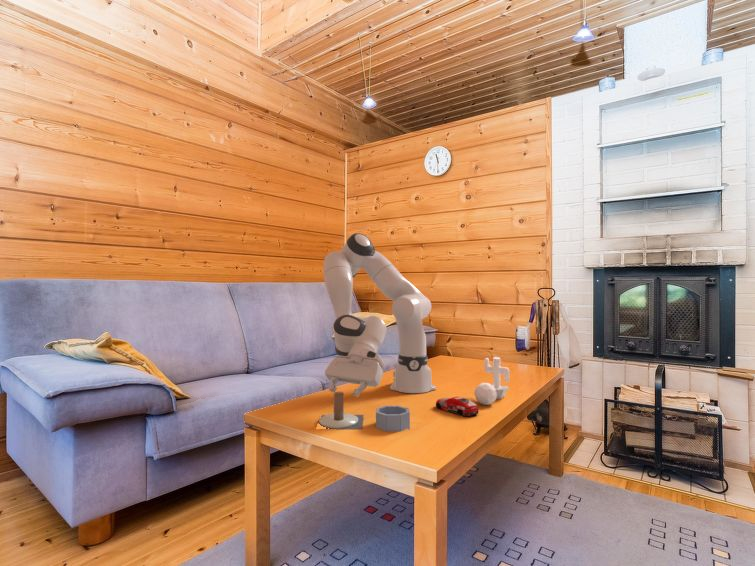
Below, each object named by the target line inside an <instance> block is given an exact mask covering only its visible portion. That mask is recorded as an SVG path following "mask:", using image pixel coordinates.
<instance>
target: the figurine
mask: <svg viewBox="0 0 755 566" xmlns="http://www.w3.org/2000/svg"><path fill="white" fill-rule="evenodd" d="M492 364H493V365H490V359H489V358H488V357H486V358H484V364H483V366H484V372H485V373H487V374H493V376H492V379H493V382H492V383H490V384H491V385H492V386H493V387H494V388H495V390H496V393H497V397H496V399H498V400H500V399H501V400H502V398H504V397H505V395H506V393H507V392H508V389H509V388H510V387H509V386H508V385H501V375H504V382H505V383H508V382H510V369H509V367H505V366H501V358H500V357H499V356H495V357H492Z"/></svg>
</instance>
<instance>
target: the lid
mask: <svg viewBox="0 0 755 566" xmlns="http://www.w3.org/2000/svg"><path fill="white" fill-rule="evenodd" d="M344 396H345V395H344V392H342V391H335V392H333V413H329V414H324V415H325V416H322V417H321V418H320V417H319V418H320V419H319V418H318V420H319V424H320V425H321V426H323V427H326V428H332V429H336V430H343V429H342V428H349V427H352V426H355V425H356V424H357V423H358V417H357V416H355V415H356V414H352V413H345V412H344V411H345V408H344V406H345V405H344V401H345V400H344Z"/></svg>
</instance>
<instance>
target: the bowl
mask: <svg viewBox="0 0 755 566" xmlns="http://www.w3.org/2000/svg"><path fill="white" fill-rule="evenodd" d="M410 415H411V413H410V409H409V407H405V406H402V405H382V406H380V407H379V406H378V407H376V408H375V428H376V429H377V430H381V431H383V432H403V431H405V430H410V429H411V427H410V426H411V423H410V422H411V421H410V420H411V418H410Z"/></svg>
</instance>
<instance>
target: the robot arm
mask: <svg viewBox="0 0 755 566" xmlns="http://www.w3.org/2000/svg"><path fill="white" fill-rule="evenodd" d="M360 270H363V271H365V273H366V274H367V276H368V277H369V279H370V280H371V281H372V282H373V283H374V285H375V286H376V287H377V288H378V290H379V291H380V292H382V294H383V296H385V297H386V298H388V299H389V300H391V302H392V306H391V313H392V314H393V316H394V319H395V322H396V327H397V331H398V342H399V343H398V345H399V346H398V347H399V352H398V355H397V356H398V357H397V362H398V363H397V364H398V365H397V366H396V367H395V368H394V370H393V375H392V376H393V377H394V378H393V382H392V383H391V385H390V386H389V390H390V391H396V392H400V393H406V394H422V393H428V392H431V391H434V390H436V389H437V387H436V385H434V384H433V383H432V382H433V381H432V380H433V379H432V369H431V368H430V367H429V366H428V360H429V358H428V355H427V334H426V332H425V329H424V325H423V320H424V319H425V318H427V317H428V316H429V314H430V313H431V311H432V302H431V300H430V299H429V298H428V297H427V296H426V295H424V294H423V293H422V292H421V291H420V290H419V289H418V288H416V286H414V285H413V283H411V282H410V281H408V279H406V278H405V277H404V276H403V275H402V274H401V272H400V271H399V270H398V269H397V267H396V266H394V264H393V263H392V262H391V261H390V260H389V259H388V258H387V257H386V256H384V255H383V254H382V253H381V252H379V251H376V249H375V247H374V245H373V243H372V241H371V239H370V238H369V237H368V236H367V235H365V234H364V233H361V232H360V233H359V232H357V233H353V234H351V235H350V236H349V237H348V238H347V240H346V242H345V243H344V245H343V246H342V248H341V249H340V251H335V250H334V251H331V252H330V253H328V254H327V255H325V258H324V260H323V279H324V283H325V287H326V291H327V293H328V296H329V299H330V303H331V305H332V308H333V311H334V315H335V321H334V322H333V327H332V328H333V335H334V336H333V337H334V350H335V351H334V352H335V353H336V354H337V355H338V356H336V357H334V358H333V359H332V360H331V362H330V363H329V365H328V366H327V367H326V369H325V371H324V374H325V377H326V378H327V379H328V380H329V381H330V386H329V388H328V390H329V391H330V392H331V393H335V392H336V390H337V389H338V388H337V386H336V384H337V383H338V382H341V383H345V384H346V383H347V384H354V385H359V386H357V388H353V389H354V390H353V392H352V395H353V396H354V397H359V396H360V394H361V393H362V392H363V391H365V390H366V389H367V387H373V388H375V387H378V386H379V385H380V383H381V381H382V378H383V376H384V370H385V368H386V363H385V361H384V360H383V358H382V357H381V355H380V354H379V353H378V351H379V349H380V348H381V347H382V345H383V343H384V340H385V338H386V335H387V332H388V331H387V330H388V327H387V324H386V323H385V321H384V320H383V319H382V318H380V317H379V316H376V315H369V316H366V317H362V316H361V317H360V316H354V315H353V314H352V303H353V290H354V278H355V277H356V276H357V274H358V272H359V271H360Z"/></svg>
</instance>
